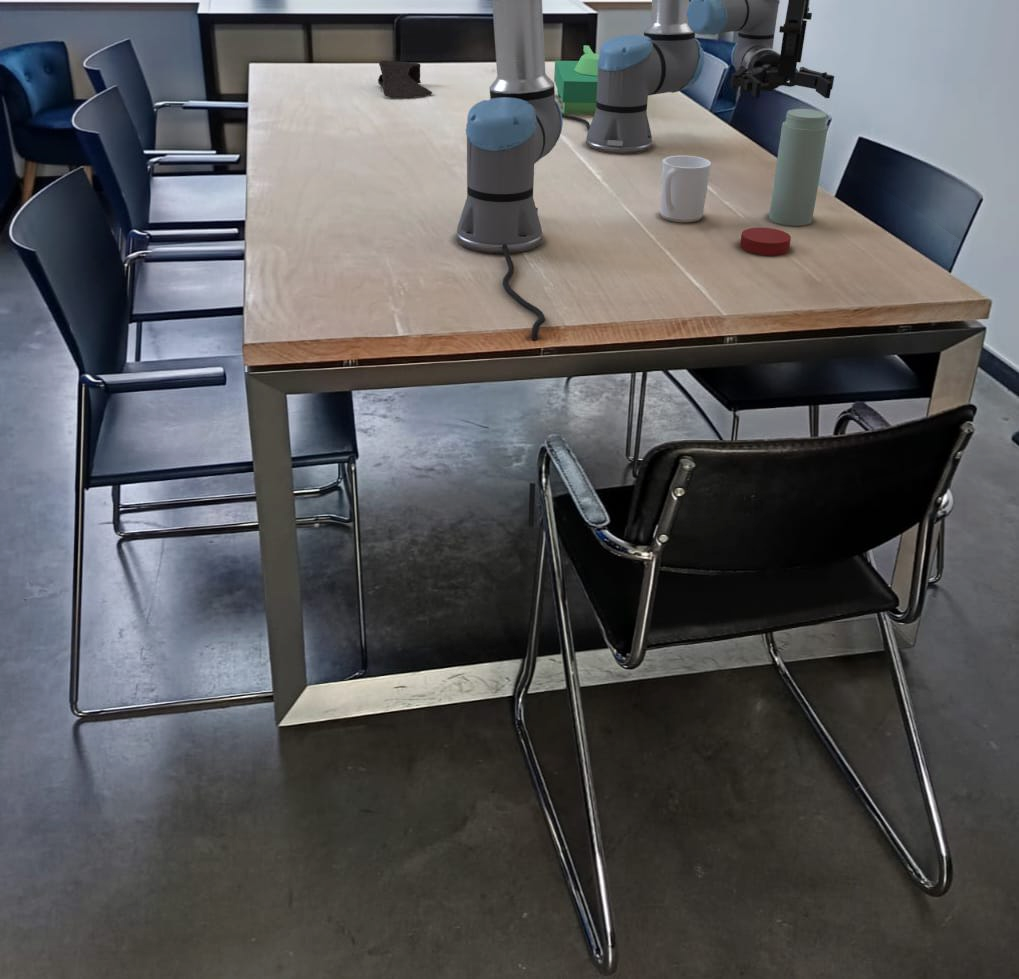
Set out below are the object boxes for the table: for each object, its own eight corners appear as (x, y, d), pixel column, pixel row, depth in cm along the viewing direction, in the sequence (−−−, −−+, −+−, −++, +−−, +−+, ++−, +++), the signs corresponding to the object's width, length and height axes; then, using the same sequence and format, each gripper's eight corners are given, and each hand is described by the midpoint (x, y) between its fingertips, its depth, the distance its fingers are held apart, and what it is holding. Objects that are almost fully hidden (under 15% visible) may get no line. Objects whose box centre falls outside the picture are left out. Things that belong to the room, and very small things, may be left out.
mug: (673, 205, 215) (679, 152, 210) (713, 215, 210) (719, 161, 205) (642, 218, 208) (647, 164, 202) (683, 229, 203) (689, 173, 197)
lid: (754, 236, 201) (755, 224, 199) (797, 246, 196) (799, 234, 195) (731, 248, 195) (732, 235, 194) (775, 259, 190) (777, 246, 189)
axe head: (443, 87, 294) (392, 77, 287) (436, 115, 299) (385, 106, 292) (421, 62, 307) (371, 52, 300) (414, 89, 311) (365, 80, 304)
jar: (778, 226, 206) (795, 119, 195) (762, 213, 213) (777, 108, 202) (819, 225, 207) (837, 117, 197) (801, 211, 214) (818, 107, 204)
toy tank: (617, 42, 302) (635, 66, 272) (613, 88, 309) (631, 117, 279) (553, 40, 301) (564, 65, 271) (551, 87, 308) (562, 116, 278)
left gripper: (831, -69, 157) (807, 85, 169) (838, -81, 178) (817, 57, 189) (778, -72, 159) (758, 81, 170) (791, -83, 180) (773, 54, 191)
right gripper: (821, 88, 228) (854, 111, 209) (702, 87, 226) (726, 110, 208) (827, 49, 224) (861, 70, 206) (707, 48, 222) (731, 69, 204)
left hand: (789, 69), depth 180 cm, fingers open, 13 cm apart
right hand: (793, 90), depth 207 cm, fingers open, 13 cm apart
